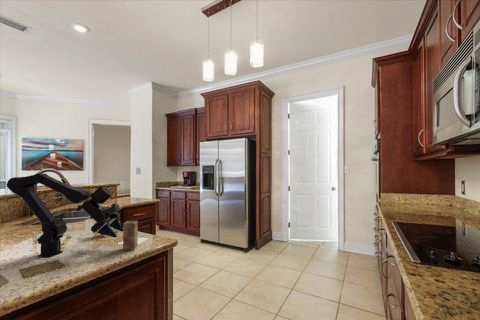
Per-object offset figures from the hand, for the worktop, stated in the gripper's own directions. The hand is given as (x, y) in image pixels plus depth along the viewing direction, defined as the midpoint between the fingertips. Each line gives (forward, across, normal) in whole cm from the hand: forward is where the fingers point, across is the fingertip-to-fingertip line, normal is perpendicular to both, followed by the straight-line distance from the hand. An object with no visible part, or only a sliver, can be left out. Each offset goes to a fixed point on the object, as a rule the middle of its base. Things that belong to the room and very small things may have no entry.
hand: (119, 233), depth 105 cm
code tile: (+8, +12, +3) cm, 14 cm away
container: (-4, +27, +16) cm, 31 cm away
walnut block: (+9, 0, +2) cm, 9 cm away
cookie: (-10, -15, +22) cm, 28 cm away
